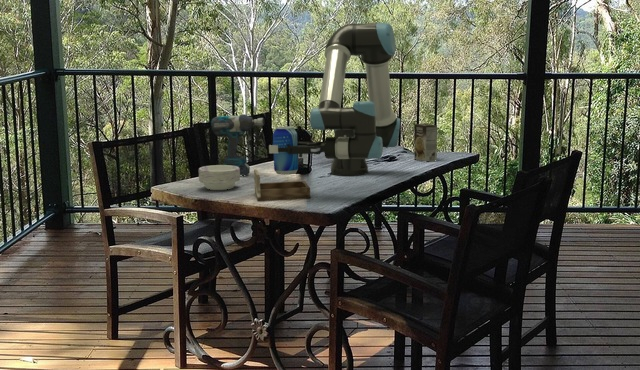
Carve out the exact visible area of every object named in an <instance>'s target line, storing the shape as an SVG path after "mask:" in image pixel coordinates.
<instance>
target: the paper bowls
mask: <svg viewBox="0 0 640 370" xmlns="http://www.w3.org/2000/svg"><path fill="white" fill-rule="evenodd" d="M240 180H241V177H240V168H239V167H237V166H231V165H225V164H216V165H215V164H214V165H204V166H201V167H199V168H198V181H199V182H200V183H203V185H204V187H205V189H207V190H209V189H210V191H227V189H228V190H230V189H233V188H234V187H235V185H236V183H237V182H239V181H240Z"/></svg>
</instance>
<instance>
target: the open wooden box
mask: <svg viewBox="0 0 640 370" xmlns="http://www.w3.org/2000/svg"><path fill="white" fill-rule="evenodd" d="M253 178H254V179H253V180H254V181H253V182H254V196H255V199H256V200H257V202H264V201H265V202H266V201H268V202H269V201H281V200H284V201H285V200H299V199H300V200H302V199H311V187H310V186H309V185H308V183H307V182H306V181H305V180H297V181H295V180H294V181H277V182H261V175H260V172H259V171H258V169H257V168H253Z"/></svg>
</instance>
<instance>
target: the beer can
mask: <svg viewBox="0 0 640 370" xmlns="http://www.w3.org/2000/svg"><path fill="white" fill-rule="evenodd" d="M297 142H298V132H297V131H296V130H295V126H290V125H289V126H288V125H287V126H284V125H283V126H275V128H274V131H273V133H272V145H278V148H287V144H289V146H298V143H297ZM291 151H292V149H291ZM298 170H299V154H288V153H287V152H278V153H273V171H275V173H276V175H282V176H283V175H285V176H286V175H295V174H296V173H297V171H298Z"/></svg>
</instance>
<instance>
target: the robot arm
mask: <svg viewBox="0 0 640 370" xmlns="http://www.w3.org/2000/svg"><path fill="white" fill-rule="evenodd" d="M396 47H397V45H396V37H395V32H394V28H393V27H392V25H391V24H390V23H388V22H380V21H377V22H365V23H362V22H361V23H347V24H345V25H342V26H340V27H339V28H338V29H337V30H336V31H334V32H333V34H332V35H331V36H330V37H329V38H328V40H327V43H326V45H325V47H324V57H325V65H324V71H323V76H322V82H321V90H320V96H319V101H318V107H313V108H312V109H311V110H310V117H309V121H310V122H309V123H310V126H311V129H312V130H315V131H318V130H319V131H333V132H334V135H333V136H326V137H325V139H324V141H297V143H298V146H289V144H287V148H278V145H273V144H272V145H271V144H269V145H268V154H274V153H278V152H287V153H288V154H298V155H320V154H322V153H324V157H325V159H330V160H332V159H333V160H332V163H331V167H330V174H331V175H335V176H351V177H352V176H361V175H366V174H369V166H368V163H367V160H371V159H381V158H382V155H383V149H384V148H386V149H387V148H395V147H397V146H398V144H399V136H400V129H401V128H400V127H401V126H400V125H401V119H400V118H399V117H397V115H396V113H395V112H394V111H393V108H392V94H391V80H390V67H389V64H390V63H389V62H390V61H391V60H392V58H393V55H396ZM351 56H356V57H357V56H358V57H359V56H360V61H361V62H362V63H363V64H365V71H366V72H365V73H366V80H367V81H366V82H367V83H366V84H367V94H368V100H366V101H365V100H361V101H354V102H353V104H352V106H349V107H348V106H347V107H341V106H342V100H343V99H342V98H343V92H344V85H345V79H346V71H347V64H348V62H349V61H350V60H351ZM291 149H292V151H291Z"/></svg>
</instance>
